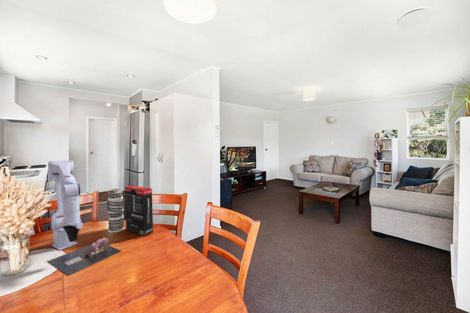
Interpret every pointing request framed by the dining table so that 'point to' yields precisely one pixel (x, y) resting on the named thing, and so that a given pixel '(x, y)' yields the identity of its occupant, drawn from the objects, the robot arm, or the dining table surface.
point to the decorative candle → (115, 210)
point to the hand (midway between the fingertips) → (72, 240)
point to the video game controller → (97, 246)
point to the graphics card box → (139, 209)
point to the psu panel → (81, 259)
